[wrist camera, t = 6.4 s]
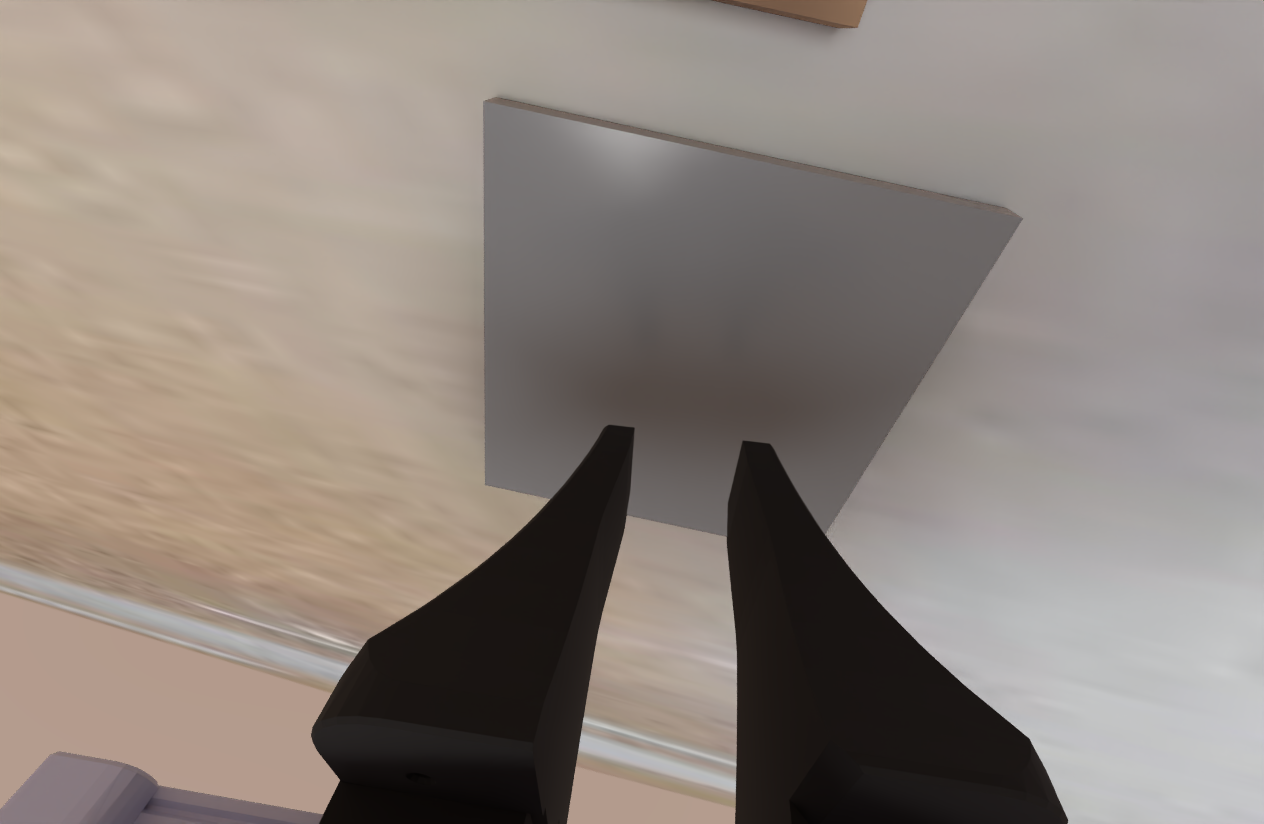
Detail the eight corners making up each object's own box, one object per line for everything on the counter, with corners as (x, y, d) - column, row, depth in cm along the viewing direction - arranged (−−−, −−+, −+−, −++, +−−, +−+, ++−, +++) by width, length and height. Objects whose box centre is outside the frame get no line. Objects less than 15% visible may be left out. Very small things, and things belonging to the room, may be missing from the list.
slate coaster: (1006, 208, 12) (1022, 218, 11) (808, 537, 19) (812, 554, 18) (495, 97, 12) (483, 101, 11) (492, 469, 19) (485, 484, 18)
